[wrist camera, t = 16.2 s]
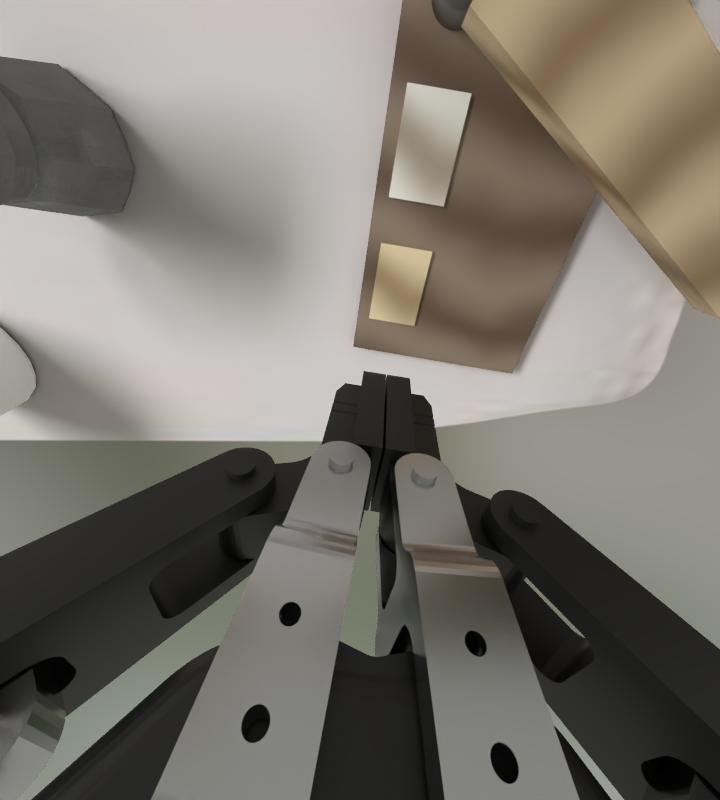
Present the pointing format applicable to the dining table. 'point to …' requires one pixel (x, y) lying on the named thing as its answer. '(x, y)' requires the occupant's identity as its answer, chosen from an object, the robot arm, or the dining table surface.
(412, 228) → the label board
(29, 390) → the white jar
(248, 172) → the dining table surface
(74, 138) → the coffeepot
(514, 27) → the swing arm
